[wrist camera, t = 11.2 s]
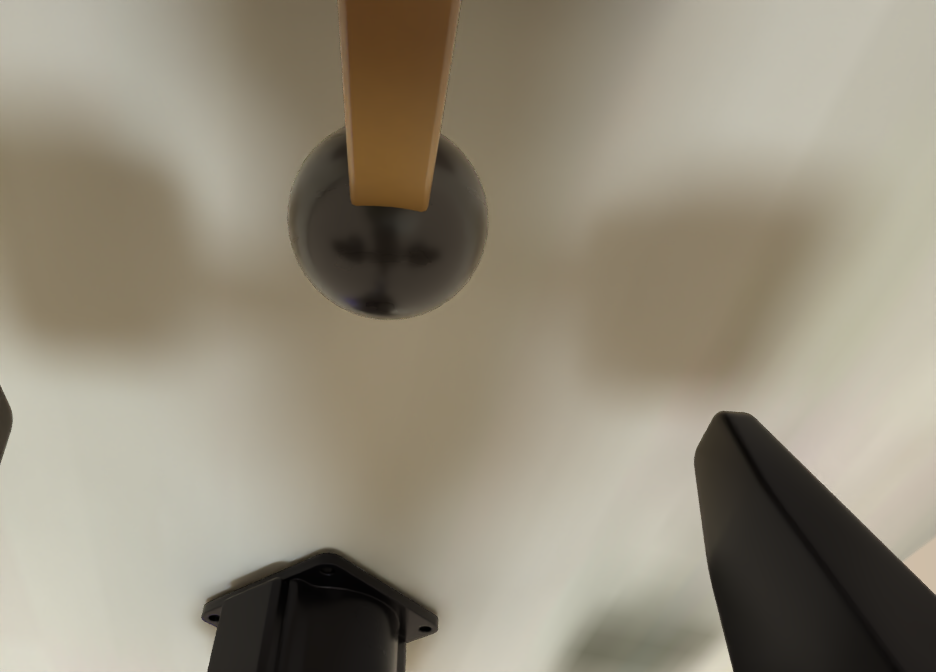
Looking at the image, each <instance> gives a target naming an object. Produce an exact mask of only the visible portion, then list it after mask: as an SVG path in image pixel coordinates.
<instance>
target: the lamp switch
mask: <svg viewBox="0 0 936 672" xmlns="http://www.w3.org/2000/svg"><path fill="white" fill-rule="evenodd" d="M461 2H462V0H337V4H338V19H339V34H340V50H341V65H342V81H343V96H344V112H345V127H343V128H341V129H339V130H337V131H336V132H334V133H333V134H331V135H329V136H328V137H327V138H325V139H324V140H323V141H322V142H321V143H320V144H318V145H317V146H316V147H315V148H314V149H313V151H312V152H311V153H310V154H309V156H308V157H307V158H306V159H305V161H304V162H303V164H302V166H301V168H300V170H299V171H298V173H297V175H296V177H295V180H294V182H293V185H292V188H291V193H290V197H289V203H288V212H287V221H288V231H289V238H290V242H291V246H292V249H293V252H294V254H295V257H296V259H297V261H298V264H299V266H300V267H301V269H302V271H303V272H304V274H305V276H306V277H307V278H308V279H309V281H310V282H311V283H312V284H313V286H314V287H315V288H316V289H317V290H318V291H319V292H320V293H321V294H323V295H324V296H325V297H326V298H327V299H329V300H330V301H331V302H333V303H334V304H336V305H337V306H339V307H341V308H343V309H345V310H347V311H349V312H351V313H354V314H356V315H359V316H363V317H368V318H373V319H380V320H399V319H407V318H412V317H415V316H419V315H422V314H425V313H427V312H429V311H432V310H434V309H436V308H438V307H440V306H441V305H442V304H444V303H445V302H447V301H448V300H450V299H451V298H452V297H453V296H454V295H456V294H457V293H458V292H459V291H460V290H461V289H462V288H463V287H464V285H465V284H466V283H467V282H468V280H469V279H470V278H471V276H472V274H473V273H474V271H475V269H476V268H477V266H478V264H479V262H480V259H481V257H482V254H483V251H484V247H485V243H486V239H487V232H488V209H487V203H486V197H485V193H484V190H483V187H482V185H481V182H480V179H479V177H478V175H477V173H476V171H475V169H474V168H473V166H472V164H471V163H470V162H469V160H468V159H467V158H466V156H465V155H464V154H463V153H462V151H461V150H460V149H459V148H458V147H457V146H456V145H454V144H453V143H452V142H451V141H450V140H449V139H448V138H446V137H445V136H443V135H441V134H440V132H441V126H442V119H443V113H444V107H445V101H446V95H447V89H448V82H449V76H450V70H451V64H452V58H453V51H454V45H455V39H456V33H457V27H458V21H459V14H460V8H461Z"/></svg>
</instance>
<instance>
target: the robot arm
mask: <svg viewBox="0 0 936 672" xmlns="http://www.w3.org/2000/svg"><path fill="white" fill-rule="evenodd" d="M12 422H13V416H12V411H11V408H10V405H9V403H8V401H7V399H6V397H5V394H4V392H3V390H2V388H1V386H0V463H1V460H2V457H3V454H4V451H5V448H6V445H7V441H8V438H9V435H10V432H11V428H12ZM694 468H695V475H696V483H697V490H698V498H699V505H700V513H701V520H702V528H703V535H704V543H705V551H706V557H707V563H708V570H709V574H710V579H711V583H712V588H713V592H714V596H715V600H716V604H717V608H718V612H719V616H720V620H721V624H722V628H723V632H724V636H725V640H726V644H727V648H728V652H729V656H730V660H731V664H732V668H733V672H936V595H935V594H934V593H933V592H932V591H931V590H930V589H929V588H928V587H927V586H926V585H925V584H924V583H923V582H922V581H921V580H920V579H919V578H918V577H917V576H916V575H915V574H914V573H913V572H912V571H911V570H910V569H908V567H907V566H906V565H905V564H904V563H903V562H901V561H900V560H899V559H898V558H897V557H896V556H895V555H894V554H893V553H892V552H891V551H890V550H889V549H888V548H887V547H886V546H885V545H884V544H883V543H882V542H881V541H880V540H879V539H878V538H877V537H876V536H875V535H874V534H873V533H872V532H871V531H870V530H869V529H868V528H867V527H866V526H865V525H864V524H863V523H862V522H861V521H860V520H859V519H858V518H857V517H856V516H855V515H854V514H853V513H852V512H851V511H850V510H849V509H847V508H846V507H845V506H844V505H843V504H842V503H841V502H840V501H839V500H838V499H837V498H836V497H835V496H834V495H833V494H832V493H831V492H830V491H829V490H828V489H827V488H826V487H825V486H824V485H823V484H822V483H821V482H820V481H819V480H818V479H817V478H816V477H815V476H814V475H813V474H812V473H811V472H810V471H809V470H808V469H807V468H806V467H805V466H804V465H803V464H802V463H801V462H800V461H799V460H798V459H797V458H796V457H795V456H793V455H792V454H791V453H790V452H789V451H788V450H787V449H786V448H785V447H784V446H783V445H782V444H781V443H780V442H779V441H778V440H777V439H776V438H775V437H774V436H773V435H772V434H771V433H770V432H769V431H768V430H767V429H766V428H765V427H764V426H763V425H762V424H761V423H760V422H759V421H758V420H757V419H756V418H755V417H753V416H752V415H750V414H748V413H745V412H731V411H721V412H719V413H717V414H716V415H715V416H714V417H713V419H712V421H711V423H710V424H709V426H708V428H707V430H706V432H705V434H704V435H703V437H702V439H701V441H700V443H699V445H698V446H697V449H696V452H695V457H694ZM201 618H202V620H204V621H205V622H207V623H209V624H211V625H213V626H215V627H217V631H216V636H215V640H214V644H213V649H212V653H211V658H210V662H209V666H208V671H207V672H405V665H406V643H408V642H411V641H414V640H416V639H419V638H422V637H425V636H428V635H431V634H433V633H435V632H437V631H438V617H437V616H436V615H435V614H433V613H431V612H430V611H428V610H426V609H425V608H423V607H422V606H420V605H418V604H417V603H415V602H414V601H412V600H410V599H409V598H407V597H405V596H404V595H402V594H401V593H399V592H397V591H396V590H394V589H393V588H391V587H389V586H388V585H386V584H384V583H383V582H381V581H380V580H378V579H376V578H375V577H373V576H372V575H370V574H368V573H367V572H365V571H363V570H362V569H360V568H359V567H357V566H355V565H354V564H352V563H351V562H349V561H347V560H346V559H344V558H342V557H341V556H339V555H337V554H333V553H323V554H319V555H317V556H314V557H312V558H310V559H307V560H305V561H303V562H300V563H298V564H296V565H294V566H291V567H289V568H287V569H284V570H282V571H280V572H277V573H275V574H273V575H270V576H268V577H266V578H263V579H261V580H259V581H256V582H254V583H252V584H250V585H247V586H245V587H243V588H240V589H238V590H236V591H233V592H231V593H229V594H226V595H224V596H222V597H219V598H217V599H215V600H212V601H210V602H208V603H206V604H205V605H204V609H203V613H202V617H201Z"/></svg>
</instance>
